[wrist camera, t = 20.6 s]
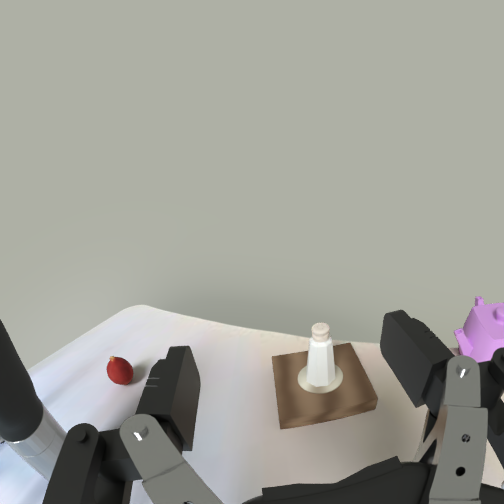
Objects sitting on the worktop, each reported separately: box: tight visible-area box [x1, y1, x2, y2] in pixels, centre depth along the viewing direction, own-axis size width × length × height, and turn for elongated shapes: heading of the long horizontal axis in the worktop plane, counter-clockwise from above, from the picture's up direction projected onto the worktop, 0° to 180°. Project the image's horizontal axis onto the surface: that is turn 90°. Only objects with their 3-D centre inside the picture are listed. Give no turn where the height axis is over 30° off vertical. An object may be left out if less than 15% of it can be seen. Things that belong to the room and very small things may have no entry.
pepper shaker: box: [306, 323, 335, 387], centre depth 41 cm, size 5×5×11 cm
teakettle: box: [454, 296, 504, 363], centre depth 34 cm, size 17×17×12 cm
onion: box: [107, 356, 133, 385], centre depth 49 cm, size 6×6×8 cm
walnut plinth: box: [272, 343, 378, 429], centre depth 43 cm, size 16×16×3 cm
